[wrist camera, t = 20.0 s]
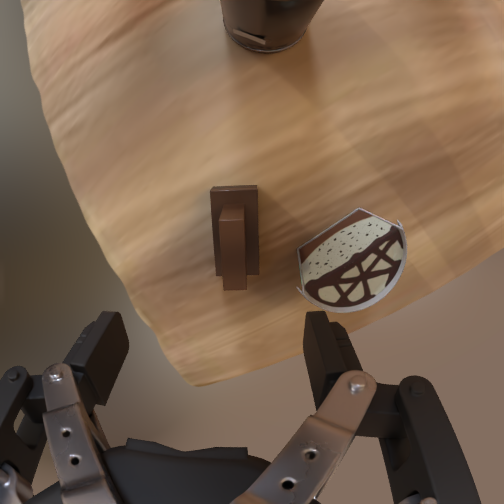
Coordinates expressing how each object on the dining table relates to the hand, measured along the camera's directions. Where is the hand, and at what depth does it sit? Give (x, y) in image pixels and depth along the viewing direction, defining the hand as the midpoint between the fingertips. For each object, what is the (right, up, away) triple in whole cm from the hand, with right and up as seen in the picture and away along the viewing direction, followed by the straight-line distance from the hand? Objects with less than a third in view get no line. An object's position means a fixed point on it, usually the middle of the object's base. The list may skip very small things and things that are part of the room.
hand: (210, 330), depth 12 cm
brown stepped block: (0, +6, +23) cm, 24 cm away
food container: (+13, +4, +24) cm, 28 cm away
